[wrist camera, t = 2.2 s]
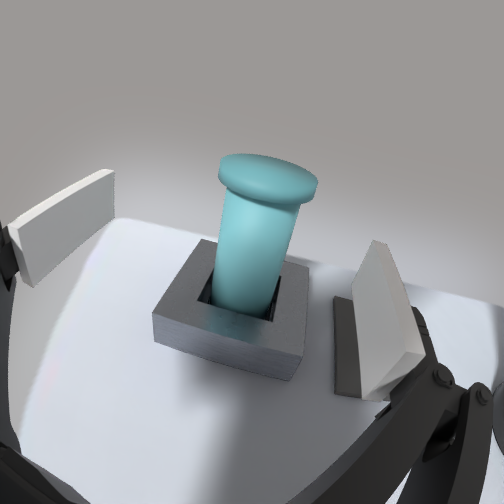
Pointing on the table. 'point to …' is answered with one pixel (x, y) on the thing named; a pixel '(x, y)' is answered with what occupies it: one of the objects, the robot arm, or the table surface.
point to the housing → (234, 319)
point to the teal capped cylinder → (256, 229)
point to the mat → (347, 350)
